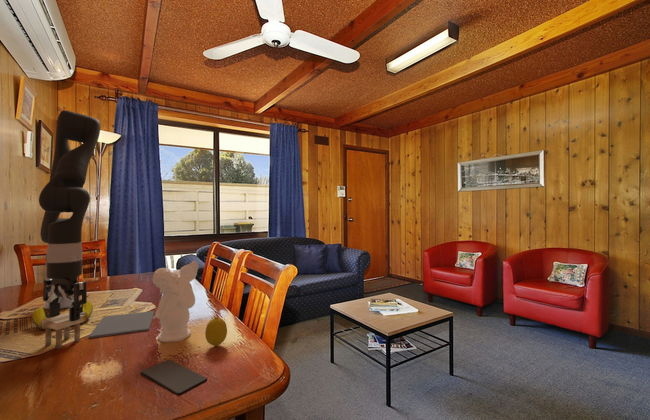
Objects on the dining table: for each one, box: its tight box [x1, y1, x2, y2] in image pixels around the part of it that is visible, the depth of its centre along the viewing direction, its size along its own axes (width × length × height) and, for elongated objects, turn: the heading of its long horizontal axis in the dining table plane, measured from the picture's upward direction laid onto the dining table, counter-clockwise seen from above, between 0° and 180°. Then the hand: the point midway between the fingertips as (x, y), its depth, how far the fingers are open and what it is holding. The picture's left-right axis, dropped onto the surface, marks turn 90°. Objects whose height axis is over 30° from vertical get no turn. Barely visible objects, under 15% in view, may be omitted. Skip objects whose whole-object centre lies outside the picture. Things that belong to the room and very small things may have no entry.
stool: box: [42, 312, 85, 350], centre depth 84 cm, size 6×6×7 cm
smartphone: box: [140, 359, 208, 396], centre depth 67 cm, size 7×1×15 cm
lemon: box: [205, 316, 228, 347], centre depth 83 cm, size 6×6×8 cm
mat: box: [88, 310, 155, 339], centre depth 98 cm, size 18×15×1 cm
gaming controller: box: [32, 300, 94, 331], centre depth 98 cm, size 15×6×10 cm
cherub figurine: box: [152, 259, 199, 343], centre depth 91 cm, size 12×12×22 cm
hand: (64, 318), depth 84 cm, fingers open, 8 cm apart
